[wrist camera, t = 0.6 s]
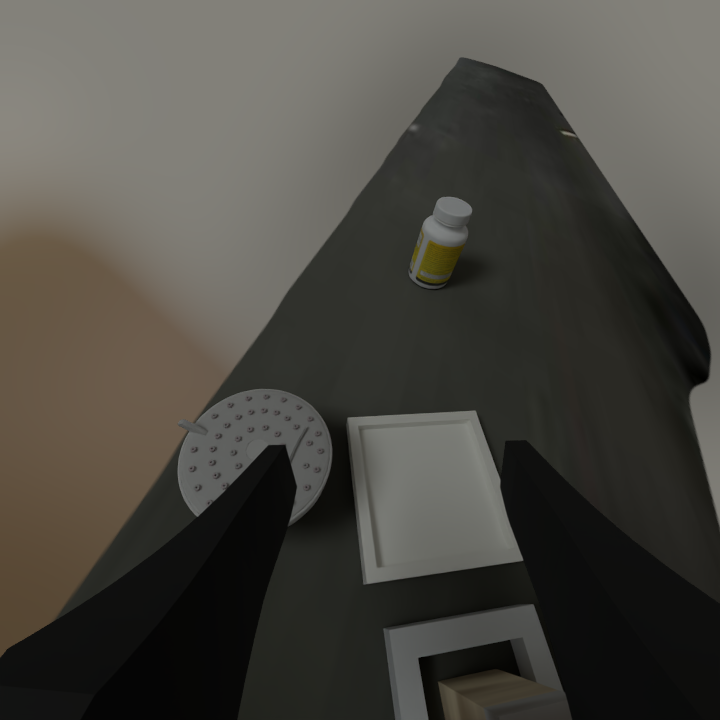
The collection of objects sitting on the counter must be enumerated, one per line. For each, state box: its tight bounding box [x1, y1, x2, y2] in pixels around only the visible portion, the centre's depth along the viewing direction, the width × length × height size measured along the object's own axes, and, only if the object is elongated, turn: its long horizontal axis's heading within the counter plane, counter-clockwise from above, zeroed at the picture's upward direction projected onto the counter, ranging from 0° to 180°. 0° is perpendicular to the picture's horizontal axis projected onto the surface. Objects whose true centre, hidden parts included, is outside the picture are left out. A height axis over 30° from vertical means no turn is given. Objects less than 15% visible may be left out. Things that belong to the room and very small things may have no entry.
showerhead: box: [178, 389, 332, 526], centre depth 23 cm, size 9×7×10 cm
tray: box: [346, 411, 524, 585], centre depth 27 cm, size 12×12×2 cm
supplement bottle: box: [409, 197, 472, 289], centre depth 40 cm, size 5×5×10 cm
